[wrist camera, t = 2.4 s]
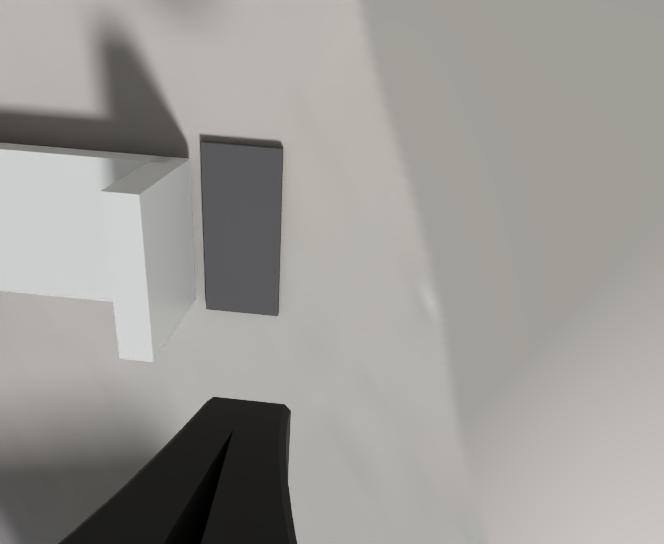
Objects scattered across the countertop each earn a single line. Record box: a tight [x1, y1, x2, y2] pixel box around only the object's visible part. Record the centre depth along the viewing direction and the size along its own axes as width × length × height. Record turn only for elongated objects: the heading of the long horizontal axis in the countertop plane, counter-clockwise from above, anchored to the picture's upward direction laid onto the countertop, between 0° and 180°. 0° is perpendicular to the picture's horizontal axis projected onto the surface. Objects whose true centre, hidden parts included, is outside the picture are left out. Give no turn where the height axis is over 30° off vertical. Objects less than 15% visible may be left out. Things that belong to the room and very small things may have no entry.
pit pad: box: [201, 141, 283, 316], centre depth 19 cm, size 6×3×1 cm, turn 176°
